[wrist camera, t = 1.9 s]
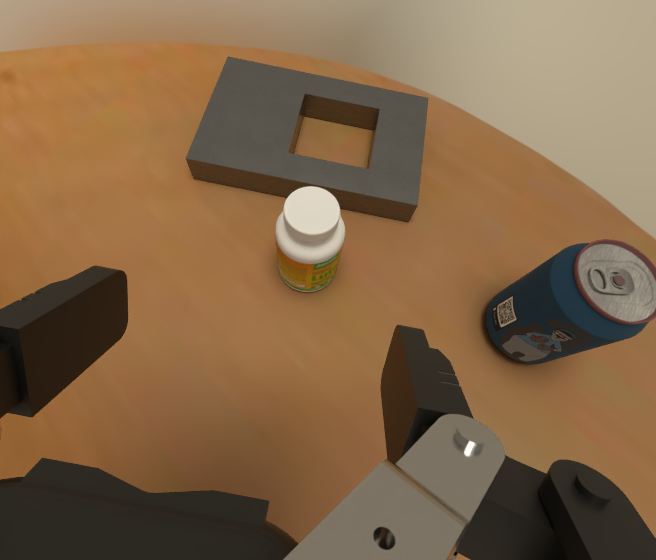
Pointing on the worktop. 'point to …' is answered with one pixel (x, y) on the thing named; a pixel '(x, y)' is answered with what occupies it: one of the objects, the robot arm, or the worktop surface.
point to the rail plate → (283, 129)
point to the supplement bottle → (309, 239)
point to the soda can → (574, 302)
